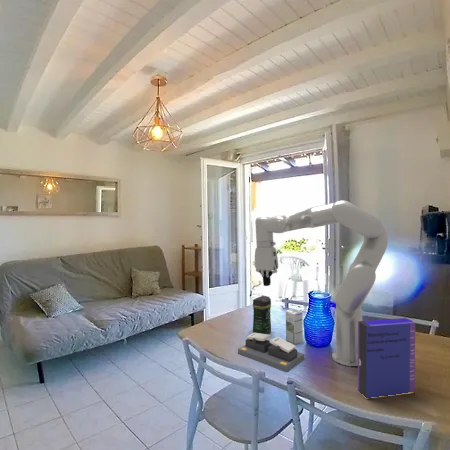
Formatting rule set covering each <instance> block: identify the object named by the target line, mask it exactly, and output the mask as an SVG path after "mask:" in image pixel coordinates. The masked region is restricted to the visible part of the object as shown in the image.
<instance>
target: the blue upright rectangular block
mask: <svg viewBox="0 0 450 450" xmlns="http://www.w3.org/2000/svg"><path fill="white" fill-rule="evenodd" d="M358 391H359V392H360V393H361V394H363V395H364V396H365V397H366V398H371V397H379V396H388V395H396V394H402V393H408V392H416V322H414V321H413V320H411V319H410V318H409V319H408V318H406V317H402V318H401V317H400V318H388V319H387V318H386V319H385V318H384V319H375V320H374V319H372V320H361V321H358V367H357V392H358ZM359 392H358V393H359ZM360 393H359V394H360ZM361 394H360V395H361Z"/></svg>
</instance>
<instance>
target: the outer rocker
mask: <svg viewBox="0 0 450 450" xmlns="http://www.w3.org/2000/svg"><path fill="white" fill-rule="evenodd" d="M253 338H254V339H256V340H259V341H265V340H269V339H271V338H272V334H261V333H253V332H252V333H251V334H249V335H247V336H246V339H253Z"/></svg>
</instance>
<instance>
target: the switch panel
mask: <svg viewBox="0 0 450 450" xmlns="http://www.w3.org/2000/svg"><path fill="white" fill-rule="evenodd" d="M286 341H287V340H286ZM287 342H289V341H287ZM289 343H290V342H289ZM237 354H238V355H240V356H244V357H246V358H249V359H251V360H254V361H256V362H260V363H262V364H264V365H268V366H270V367H273V368H276V369H278V370H281V371H283V372H286V373H287V372H289V371H290V370H292V369H293V368H294V367H296V366H297V365H298V364H300V363H301V362H303V360H305V354H304V353H303V352H299V351H298V349H297V348H295V349H294V350H292V351H291V352H289V353H287V352H286V351H284V350H282V349H280V347H279V346H275V345H273V344H271V343H270V340H269V339H267V340H265V341H259V340H256V339H254V338H253V339H247V338H246V339H245V345H242V346H241V347H239V348H237Z"/></svg>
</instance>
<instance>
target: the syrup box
mask: <svg viewBox="0 0 450 450" xmlns="http://www.w3.org/2000/svg"><path fill="white" fill-rule="evenodd" d="M303 321H304V320H303V311H302V310H299V309H296V308H290V309H288V310H285V341H289V343H291V344H293V345H297V344H299V343H303V342H304V338H303V336H304V335H303V333H304V330H303V325H304V324H303Z"/></svg>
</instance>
